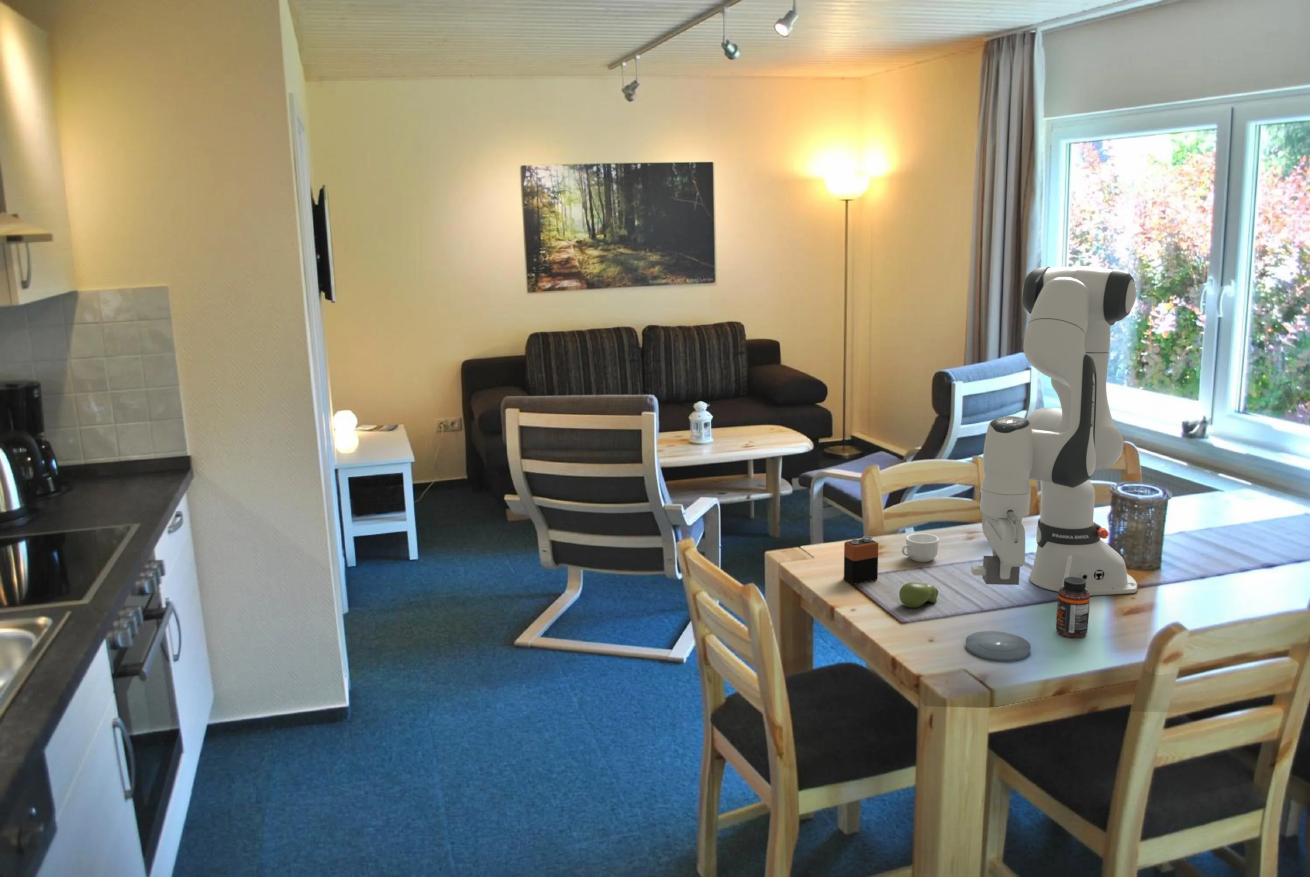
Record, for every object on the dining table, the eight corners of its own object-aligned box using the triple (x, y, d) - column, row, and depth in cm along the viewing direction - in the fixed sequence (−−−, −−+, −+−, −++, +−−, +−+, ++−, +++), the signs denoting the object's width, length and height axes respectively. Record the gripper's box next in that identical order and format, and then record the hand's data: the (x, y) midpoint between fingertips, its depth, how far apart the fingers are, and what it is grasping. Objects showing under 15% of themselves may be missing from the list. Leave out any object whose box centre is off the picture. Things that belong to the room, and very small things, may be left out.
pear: (895, 580, 224) (925, 577, 230) (892, 604, 224) (922, 600, 230) (916, 587, 219) (946, 584, 225) (912, 611, 220) (942, 608, 226)
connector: (1014, 578, 200) (1015, 556, 199) (1018, 584, 197) (1020, 562, 196) (970, 577, 201) (971, 555, 200) (973, 584, 198) (974, 561, 197)
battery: (878, 580, 240) (879, 538, 237) (853, 584, 237) (854, 543, 235) (867, 574, 244) (868, 533, 241) (842, 578, 241) (843, 537, 239)
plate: (1022, 636, 207) (1022, 630, 207) (1037, 662, 196) (1037, 656, 195) (960, 635, 208) (960, 629, 208) (971, 660, 197) (972, 654, 197)
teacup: (923, 552, 258) (924, 531, 257) (945, 561, 251) (945, 539, 250) (891, 559, 254) (892, 537, 252) (912, 568, 247) (913, 546, 246)
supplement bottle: (1050, 628, 211) (1053, 575, 208) (1078, 626, 211) (1082, 573, 209) (1063, 640, 205) (1067, 585, 202) (1093, 638, 205) (1096, 584, 203)
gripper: (1036, 520, 185) (1031, 593, 188) (1010, 489, 205) (1006, 556, 208) (999, 519, 186) (995, 592, 189) (977, 489, 206) (974, 555, 209)
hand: (1001, 573), depth 199 cm, fingers closed on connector, 3 cm apart
